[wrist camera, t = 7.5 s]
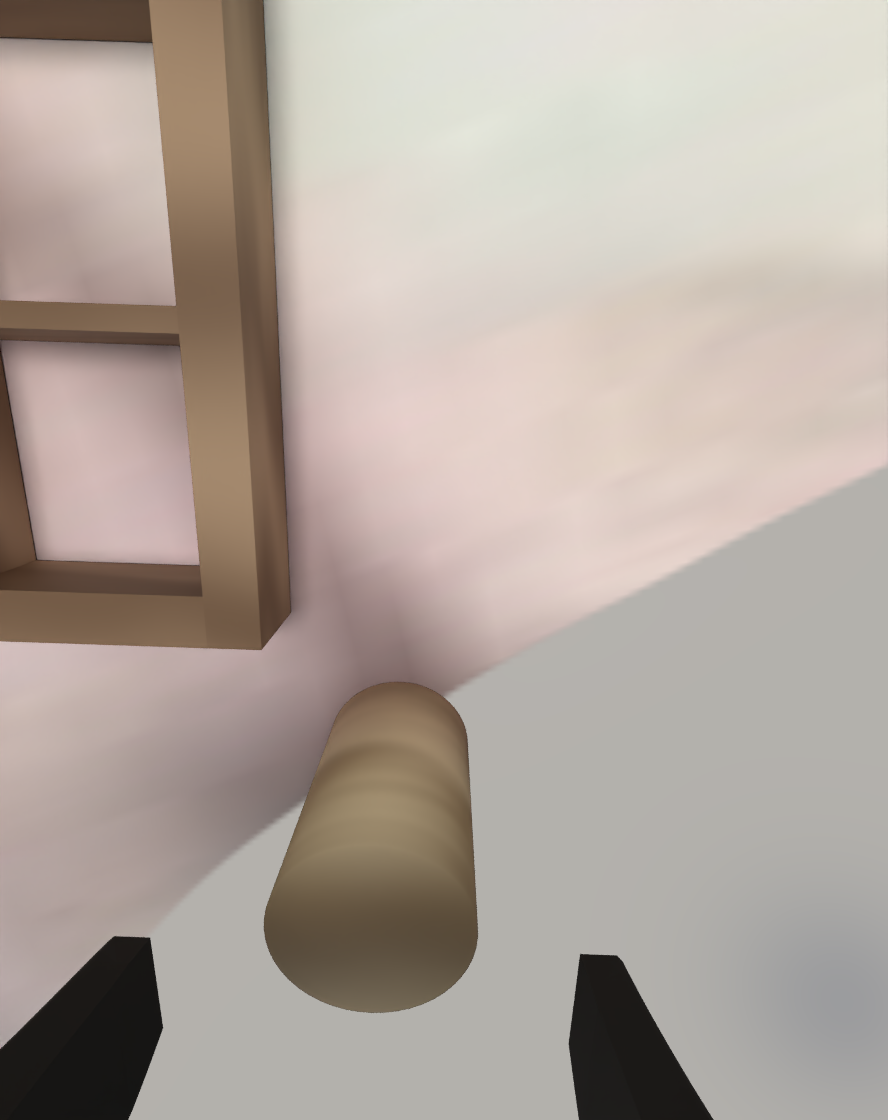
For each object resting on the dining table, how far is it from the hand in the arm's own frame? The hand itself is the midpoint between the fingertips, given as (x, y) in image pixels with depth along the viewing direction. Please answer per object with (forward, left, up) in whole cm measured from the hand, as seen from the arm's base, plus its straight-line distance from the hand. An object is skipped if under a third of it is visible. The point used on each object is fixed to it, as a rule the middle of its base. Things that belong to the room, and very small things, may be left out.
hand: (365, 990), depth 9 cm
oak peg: (0, 0, -7) cm, 7 cm away
